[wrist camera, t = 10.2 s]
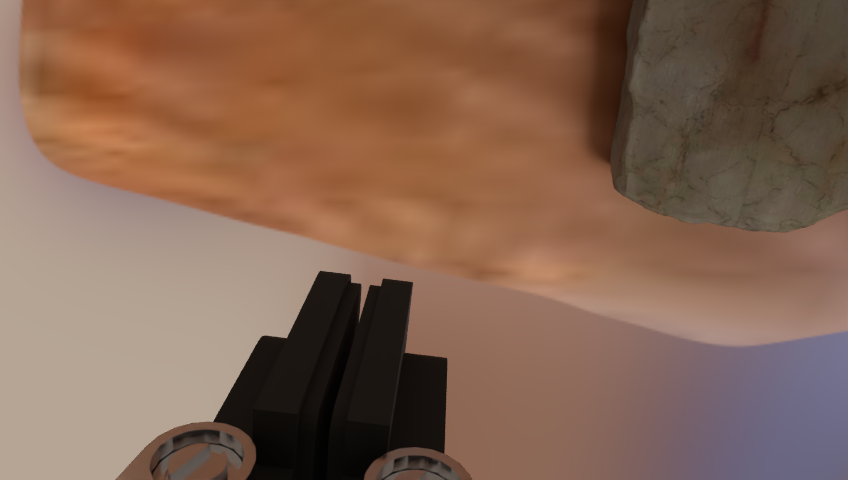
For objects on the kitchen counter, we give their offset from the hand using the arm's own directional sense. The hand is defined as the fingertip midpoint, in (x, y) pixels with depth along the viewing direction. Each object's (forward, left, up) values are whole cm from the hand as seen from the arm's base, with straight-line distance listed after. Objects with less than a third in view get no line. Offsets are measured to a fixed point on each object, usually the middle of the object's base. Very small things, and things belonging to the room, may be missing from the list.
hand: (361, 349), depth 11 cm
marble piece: (-18, +3, -25) cm, 31 cm away
